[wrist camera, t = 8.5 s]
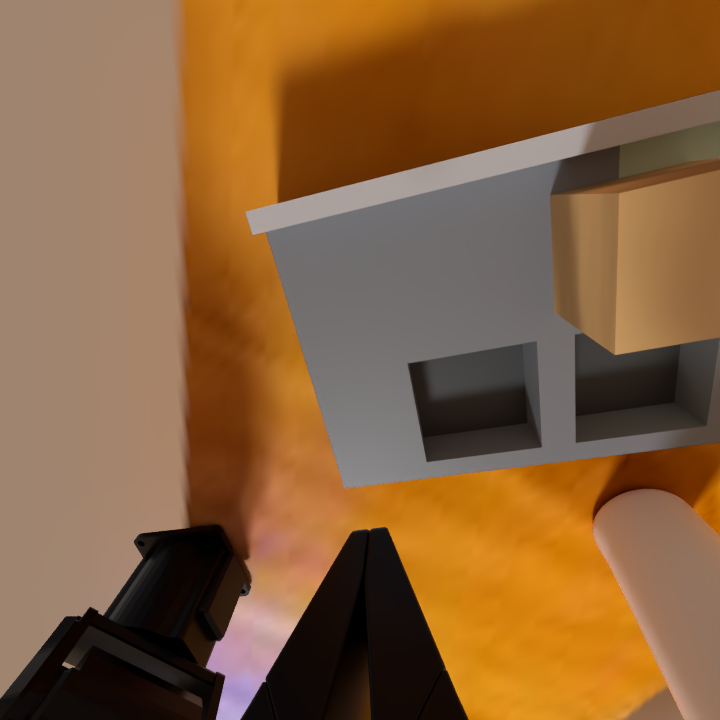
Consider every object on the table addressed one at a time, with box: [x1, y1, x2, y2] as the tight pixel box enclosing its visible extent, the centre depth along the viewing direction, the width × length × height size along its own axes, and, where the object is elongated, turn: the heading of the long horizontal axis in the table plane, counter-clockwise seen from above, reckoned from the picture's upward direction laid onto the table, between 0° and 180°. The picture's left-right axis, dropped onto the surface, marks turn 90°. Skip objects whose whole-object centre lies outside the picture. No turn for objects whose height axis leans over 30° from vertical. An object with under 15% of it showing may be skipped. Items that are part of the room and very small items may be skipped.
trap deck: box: [246, 90, 720, 488], centre depth 16 cm, size 18×14×4 cm
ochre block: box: [550, 158, 720, 355], centre depth 12 cm, size 4×4×4 cm
